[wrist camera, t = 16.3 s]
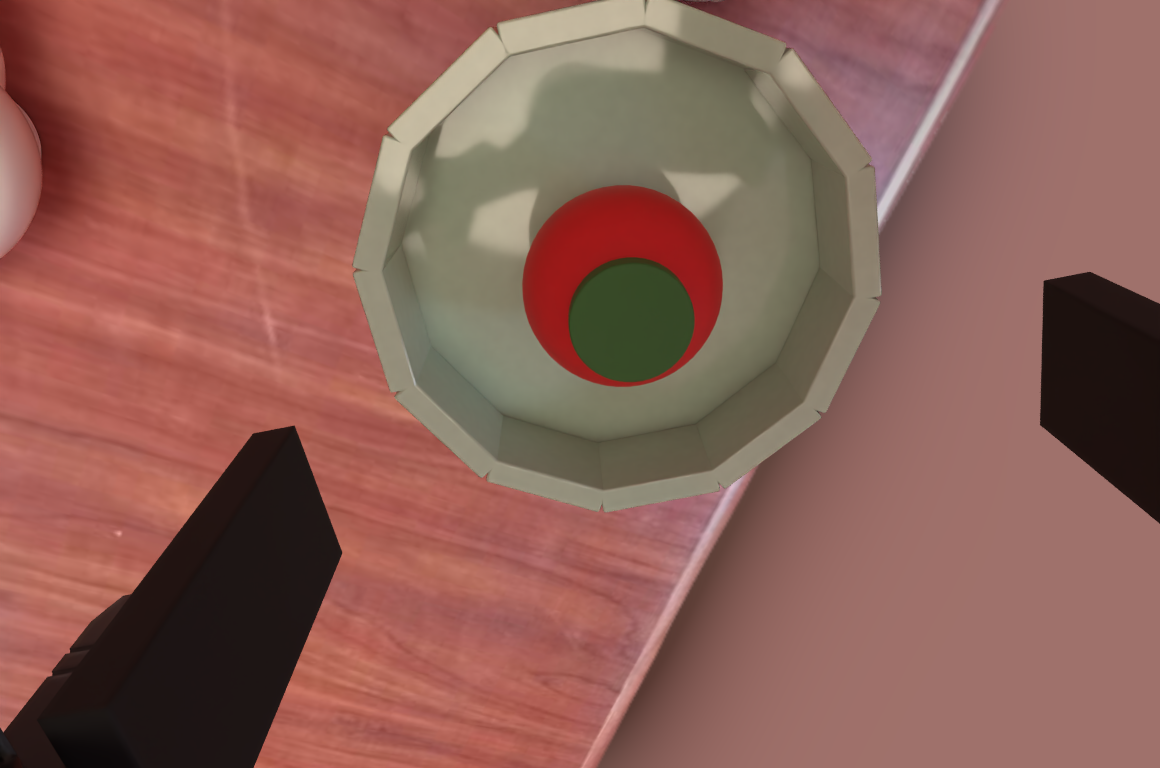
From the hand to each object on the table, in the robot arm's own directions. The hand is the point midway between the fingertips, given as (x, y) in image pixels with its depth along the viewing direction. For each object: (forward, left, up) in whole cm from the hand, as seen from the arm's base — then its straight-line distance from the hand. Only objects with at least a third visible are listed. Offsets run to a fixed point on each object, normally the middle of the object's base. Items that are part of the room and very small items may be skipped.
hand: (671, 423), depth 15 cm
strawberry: (0, 0, -12) cm, 12 cm away
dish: (0, 0, -26) cm, 26 cm away
